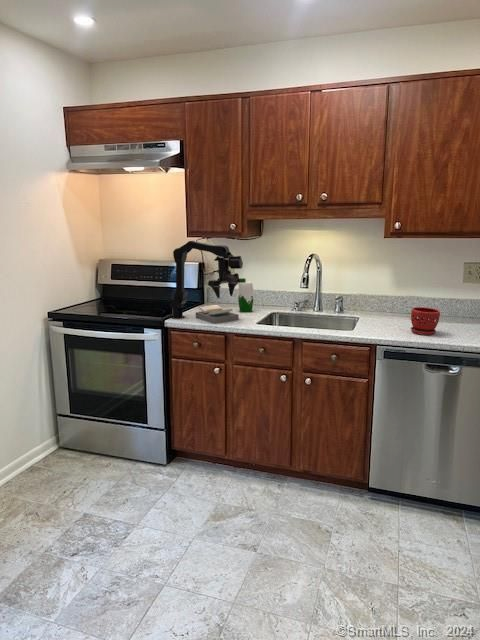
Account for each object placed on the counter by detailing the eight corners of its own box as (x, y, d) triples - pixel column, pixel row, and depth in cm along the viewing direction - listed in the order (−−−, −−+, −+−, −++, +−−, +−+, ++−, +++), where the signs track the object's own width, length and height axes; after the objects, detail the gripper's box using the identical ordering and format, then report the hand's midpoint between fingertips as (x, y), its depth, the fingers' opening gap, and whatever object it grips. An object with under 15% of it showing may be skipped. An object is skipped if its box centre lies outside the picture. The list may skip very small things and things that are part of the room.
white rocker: (199, 310, 267) (199, 307, 266) (216, 307, 274) (216, 304, 273) (204, 314, 263) (205, 310, 262) (222, 311, 270) (222, 308, 269)
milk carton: (238, 309, 289) (238, 277, 285) (252, 309, 289) (253, 277, 285) (238, 312, 281) (238, 279, 276) (253, 312, 281) (253, 279, 276)
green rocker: (209, 315, 259) (208, 311, 259) (226, 312, 266) (226, 309, 266) (215, 315, 254) (214, 311, 254) (232, 312, 261) (232, 308, 261)
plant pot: (420, 337, 223) (422, 312, 220) (404, 330, 235) (406, 307, 232) (443, 335, 226) (446, 311, 223) (427, 329, 238) (429, 306, 235)
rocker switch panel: (195, 317, 267) (195, 312, 267) (218, 314, 277) (218, 308, 276) (214, 323, 252) (214, 318, 251) (238, 319, 261) (238, 314, 260)
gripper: (220, 271, 242) (221, 300, 245) (246, 267, 254) (247, 296, 257) (206, 270, 250) (208, 299, 253) (232, 267, 262) (233, 294, 265)
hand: (225, 297), depth 257 cm, fingers open, 9 cm apart
